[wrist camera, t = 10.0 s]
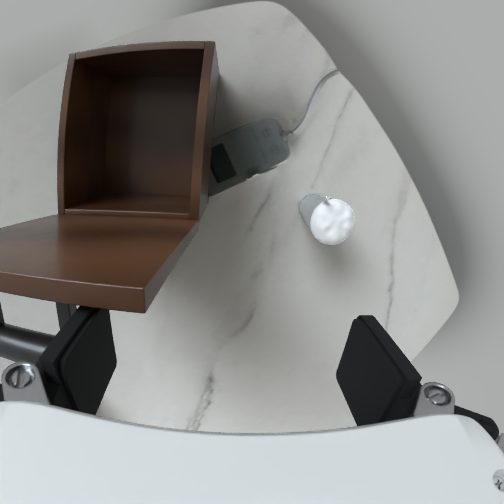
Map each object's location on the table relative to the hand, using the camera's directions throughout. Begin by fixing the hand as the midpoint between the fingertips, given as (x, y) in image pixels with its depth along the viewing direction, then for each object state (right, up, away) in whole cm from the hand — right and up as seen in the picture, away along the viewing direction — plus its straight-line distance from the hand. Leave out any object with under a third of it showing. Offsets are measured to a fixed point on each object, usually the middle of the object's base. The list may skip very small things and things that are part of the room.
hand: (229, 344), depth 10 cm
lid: (-10, +5, +5) cm, 12 cm away
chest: (-10, +17, +21) cm, 29 cm away
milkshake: (+8, +9, +25) cm, 28 cm away
